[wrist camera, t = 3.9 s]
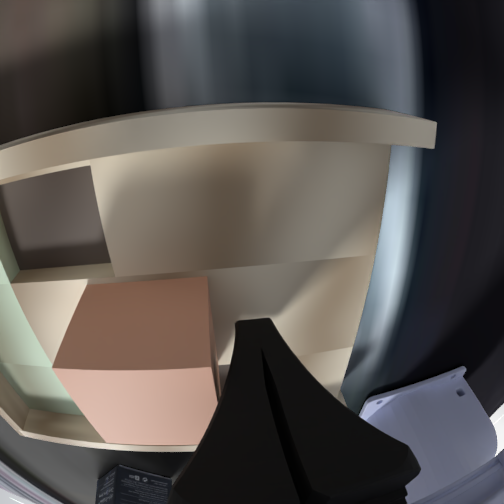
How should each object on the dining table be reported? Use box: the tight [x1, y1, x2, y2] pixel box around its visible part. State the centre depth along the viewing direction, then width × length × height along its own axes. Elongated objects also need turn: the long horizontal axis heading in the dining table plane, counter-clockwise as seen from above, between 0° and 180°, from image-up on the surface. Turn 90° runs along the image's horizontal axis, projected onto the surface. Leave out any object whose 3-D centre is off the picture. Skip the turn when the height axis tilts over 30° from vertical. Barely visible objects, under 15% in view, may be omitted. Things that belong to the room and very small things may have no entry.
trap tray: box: [0, 102, 437, 452], centre depth 11 cm, size 20×16×3 cm
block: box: [52, 276, 221, 445], centre depth 10 cm, size 4×4×4 cm
